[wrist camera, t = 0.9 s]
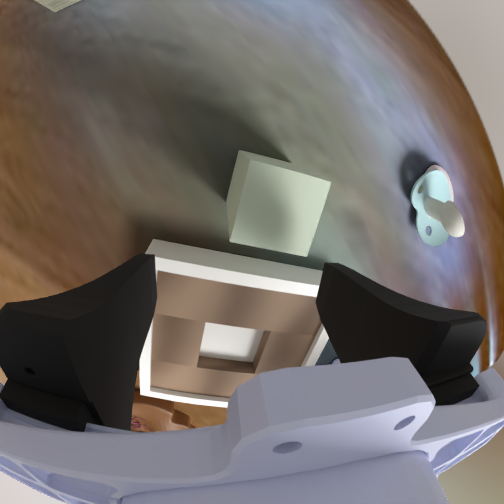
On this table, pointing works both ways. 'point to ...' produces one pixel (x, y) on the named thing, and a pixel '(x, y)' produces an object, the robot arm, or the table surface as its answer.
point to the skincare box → (56, 4)
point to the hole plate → (232, 314)
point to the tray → (223, 336)
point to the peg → (274, 204)
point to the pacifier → (436, 207)
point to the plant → (156, 415)
